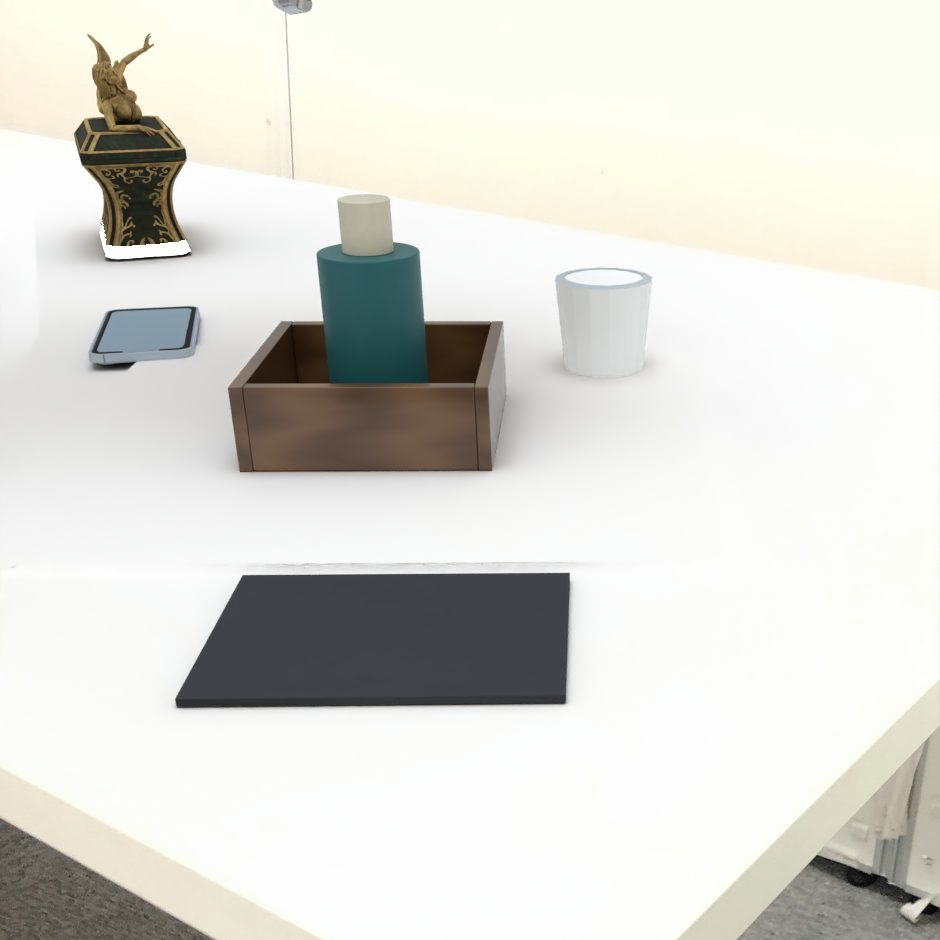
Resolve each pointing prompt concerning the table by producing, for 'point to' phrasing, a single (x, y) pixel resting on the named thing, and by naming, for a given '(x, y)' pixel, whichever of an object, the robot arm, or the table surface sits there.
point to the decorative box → (130, 159)
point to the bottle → (372, 298)
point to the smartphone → (145, 335)
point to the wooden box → (371, 406)
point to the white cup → (603, 320)
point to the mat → (386, 641)
